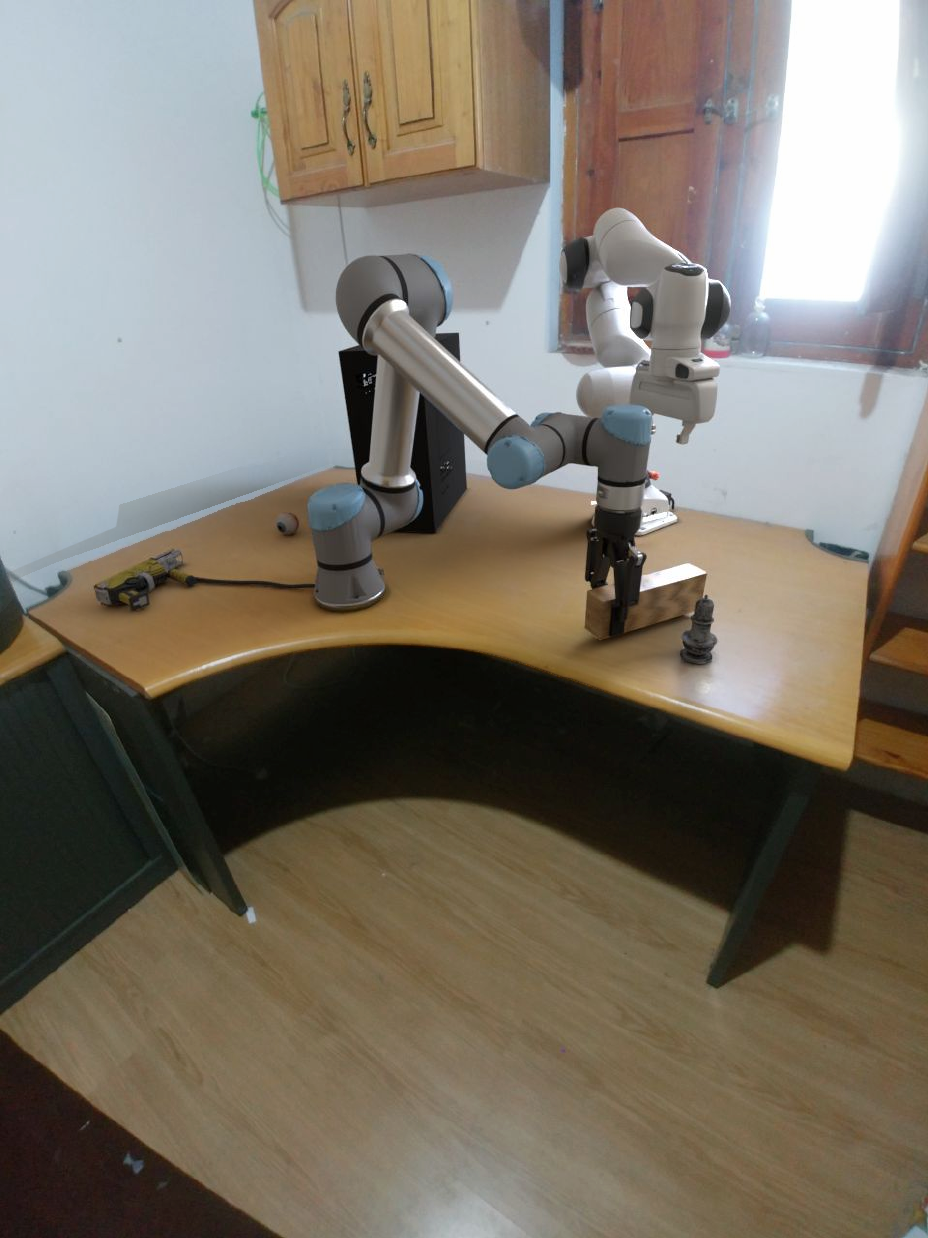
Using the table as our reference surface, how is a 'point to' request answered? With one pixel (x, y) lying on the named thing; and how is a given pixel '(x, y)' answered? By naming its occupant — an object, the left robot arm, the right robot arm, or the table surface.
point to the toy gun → (141, 581)
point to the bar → (648, 600)
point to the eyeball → (287, 523)
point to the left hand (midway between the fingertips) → (606, 627)
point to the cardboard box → (430, 444)
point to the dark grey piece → (699, 634)
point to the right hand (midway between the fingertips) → (665, 438)
